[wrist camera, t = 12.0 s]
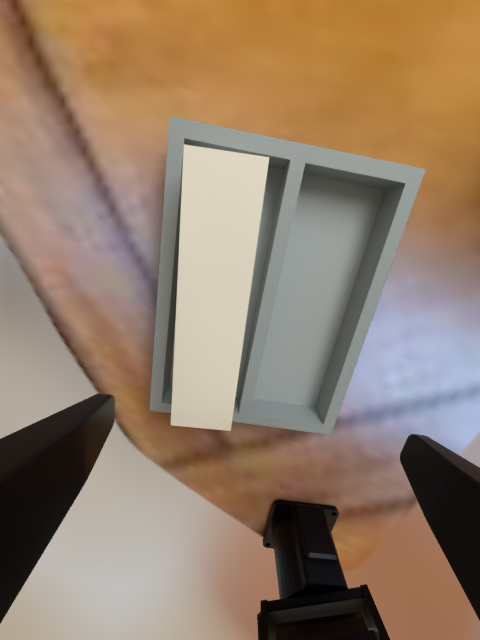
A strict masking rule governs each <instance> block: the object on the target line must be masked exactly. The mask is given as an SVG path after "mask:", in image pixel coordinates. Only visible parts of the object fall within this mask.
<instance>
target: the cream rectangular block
mask: <svg viewBox="0 0 480 640" xmlns="http://www.w3.org/2000/svg"><path fill="white" fill-rule="evenodd" d="M268 164H269V157H264V156H258V155H251V154H244V153H238V152H231V151H224V150H218V149H211V148H204V147H198V146H191V145H184V151H183V172H182V194H181V215H180V236H179V258H178V279H177V300H176V322H175V343H174V365H173V386H172V407H171V425H173V426H184V427H194V428H205V429H215V430H226V431H231V425H232V418H233V411H234V404H235V397H236V390H237V383H238V376H239V369H240V361H241V354H242V347H243V340H244V333H245V326H246V319H247V312H248V305H249V298H250V291H251V284H252V277H253V270H254V263H255V256H256V249H257V241H258V234H259V227H260V220H261V213H262V206H263V199H264V192H265V185H266V178H267V171H268Z"/></svg>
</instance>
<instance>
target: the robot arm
mask: <svg viewBox="0 0 480 640" xmlns="http://www.w3.org/2000/svg"><path fill="white" fill-rule="evenodd" d="M114 418H115V399H114V396H113V395H109V394H101V393H99V394H96V395H94V396H92V397H90V398H88V399H85V400H84V401H81V402H79V403H77V404H75V405H72V406H70V407H68V408H66V409H64V410H62V411H59V412H57V413H55V414H53V415H51V416H49V417H47V418H45V419H42V420H40V421H38V422H36V423H34V424H32V425H29V426H27V427H25V428H23V429H21V430H19V431H16V432H14V433H12V434H10V435H8V436H6V437H3V438H2V439H0V623H1V622H2V620H3V618H4V616H5V615H6V613H7V612H8V610H9V608H10V607H11V605H12V603H13V602H14V600H15V598H16V596H17V595H18V593H19V592H20V590H21V588H22V587H23V585H24V583H25V582H26V580H27V579H28V577H29V575H30V574H31V572H32V570H33V569H34V567H35V565H36V564H37V562H38V560H39V559H40V557H41V555H42V554H43V552H44V550H45V549H46V547H47V545H48V544H49V542H50V540H51V539H52V537H53V535H54V534H55V532H56V531H57V529H58V527H59V525H60V524H61V522H62V521H63V519H64V517H65V516H66V514H67V512H68V511H69V509H70V507H71V506H72V504H73V502H74V500H75V499H76V497H77V496H78V494H79V493H80V491H81V489H82V487H83V486H84V484H85V482H86V480H87V478H88V476H89V474H90V472H91V470H92V468H93V466H94V464H95V462H96V460H97V458H98V456H99V454H100V452H101V449H102V448H103V445H104V443H105V441H106V439H107V437H108V435H109V433H110V431H111V429H112V426H113V424H114ZM400 461H401V464H402V466H403V469H404V471H405V473H406V475H407V478H408V480H409V482H410V484H411V487H412V489H413V491H414V494H415V496H416V498H417V500H418V503H419V505H420V507H421V509H422V511H423V513H424V516H425V518H426V520H427V522H428V524H429V526H430V528H431V530H432V532H433V533H434V535H435V537H436V539H437V541H438V543H439V545H440V547H441V549H442V550H443V552H444V554H445V556H446V558H447V560H448V562H449V563H450V565H451V567H452V569H453V571H454V573H455V575H456V577H457V579H458V580H459V582H460V584H461V586H462V588H463V590H464V592H465V594H466V595H467V597H468V599H469V601H470V603H471V605H472V607H473V609H474V610H475V613H476V614H477V616H478V618H479V620H480V468H479V467H478V466H476V465H474V464H472V463H471V462H469V461H467V460H466V459H464V458H462V457H461V456H459V455H457V454H456V453H454V452H452V451H451V450H449V449H447V448H446V447H444V446H442V445H441V444H439V443H437V442H436V441H434V440H432V439H430V438H429V437H427V436H424V435H417V434H411V435H410V436H408V438H407V440H406V443H405V445H404V447H403V449H402V451H401V454H400ZM338 514H339V513H338V510H337V508H336V507H335V506H327V505H319V504H310V503H301V502H293V501H284V500H277V501H275V502H274V505H273V508H272V511H271V515H270V518H269V521H268V525H267V528H266V531H265V535H264V538H263V545H264V547H266V548H274V551H275V560H276V569H277V578H278V585H279V595H280V599H279V600H273V601H267V600H262V601H261V612H260V613H259V614H258V615H257V620H258V640H390V638H389V636H388V634H387V631H386V629H385V627H384V624H383V622H382V619H381V617H380V615H379V612H378V610H377V608H376V605H375V603H374V601H373V598H372V596H371V593H370V591H369V589H368V586H367V585H366V584H365V585H360V587H357V588H351V589H348V587H347V584H346V581H345V578H344V574H343V571H342V568H341V565H340V561H339V558H338V554H337V551H336V548H335V544H334V541H333V538H332V535H331V531H332V529H333V526H334V524H335V522H336V519H337V517H338Z"/></svg>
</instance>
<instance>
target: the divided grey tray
mask: <svg viewBox="0 0 480 640" xmlns="http://www.w3.org/2000/svg"><path fill="white" fill-rule="evenodd" d="M184 145H191V146H198V147H204V148H211V149H218V150H224V151H231V152H238V153H244V154H251V155H258V156H264V157H269V164H268V171H267V178H266V185H265V192H264V199H263V206H262V213H261V220H260V227H259V234H258V241H257V249H256V256H255V263H254V270H253V277H252V284H251V291H250V298H249V305H248V312H247V319H246V326H245V333H244V340H243V347H242V354H241V361H240V369H239V376H238V383H237V390H236V397H235V404H234V411H233V418H232V422H238V423H246V424H253V425H261V426H268V427H276V428H283V429H291V430H298V431H306V432H313V433H321V434H328V435H331V433H332V430H333V427H334V425H335V422H336V419H337V416H338V413H339V411H340V408H341V405H342V402H343V399H344V397H345V394H346V391H347V388H348V385H349V383H350V380H351V377H352V374H353V371H354V369H355V366H356V363H357V360H358V357H359V355H360V352H361V349H362V346H363V343H364V341H365V338H366V335H367V332H368V329H369V327H370V324H371V321H372V318H373V316H374V313H375V310H376V307H377V304H378V302H379V299H380V296H381V293H382V290H383V288H384V285H385V282H386V279H387V276H388V274H389V271H390V268H391V265H392V262H393V260H394V257H395V254H396V251H397V248H398V246H399V243H400V240H401V237H402V234H403V232H404V229H405V226H406V223H407V220H408V218H409V215H410V212H411V209H412V206H413V204H414V201H415V198H416V195H417V192H418V190H419V187H420V184H421V181H422V178H423V176H424V173H425V170H426V169H422V168H417V167H413V166H408V165H403V164H398V163H393V162H389V161H384V160H379V159H374V158H369V157H365V156H360V155H355V154H350V153H345V152H341V151H336V150H331V149H326V148H321V147H317V146H312V145H307V144H302V143H297V142H293V141H288V140H283V139H278V138H273V137H269V136H264V135H259V134H254V133H250V132H245V131H240V130H235V129H230V128H226V127H221V126H216V125H211V124H206V123H202V122H197V121H192V120H187V119H182V118H178V117H173V116H169V131H168V145H167V160H166V175H165V189H164V204H163V219H162V233H161V248H160V263H159V277H158V292H157V307H156V321H155V336H154V351H153V365H152V380H151V395H150V409H149V411H156V412H163V413H171V407H172V386H173V365H174V343H175V322H176V300H177V279H178V258H179V236H180V215H181V194H182V172H183V151H184Z"/></svg>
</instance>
